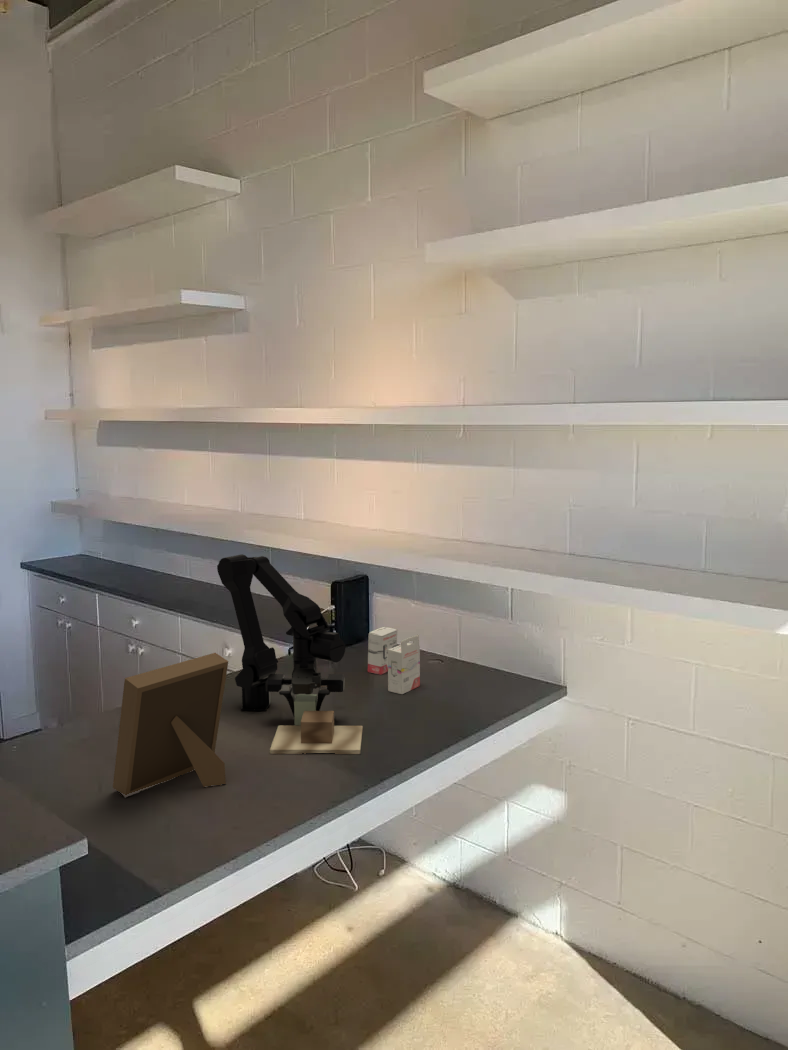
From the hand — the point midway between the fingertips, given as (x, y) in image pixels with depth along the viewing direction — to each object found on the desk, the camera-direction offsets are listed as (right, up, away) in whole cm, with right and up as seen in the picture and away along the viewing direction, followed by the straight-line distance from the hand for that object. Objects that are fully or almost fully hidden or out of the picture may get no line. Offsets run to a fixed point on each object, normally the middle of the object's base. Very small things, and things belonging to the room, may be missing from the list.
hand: (305, 716), depth 207 cm
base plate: (+4, -3, -12) cm, 13 cm away
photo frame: (-22, -7, -33) cm, 41 cm away
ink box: (+18, +4, +40) cm, 44 cm away
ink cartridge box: (+24, +2, +24) cm, 34 cm away
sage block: (0, -1, 0) cm, 1 cm away
